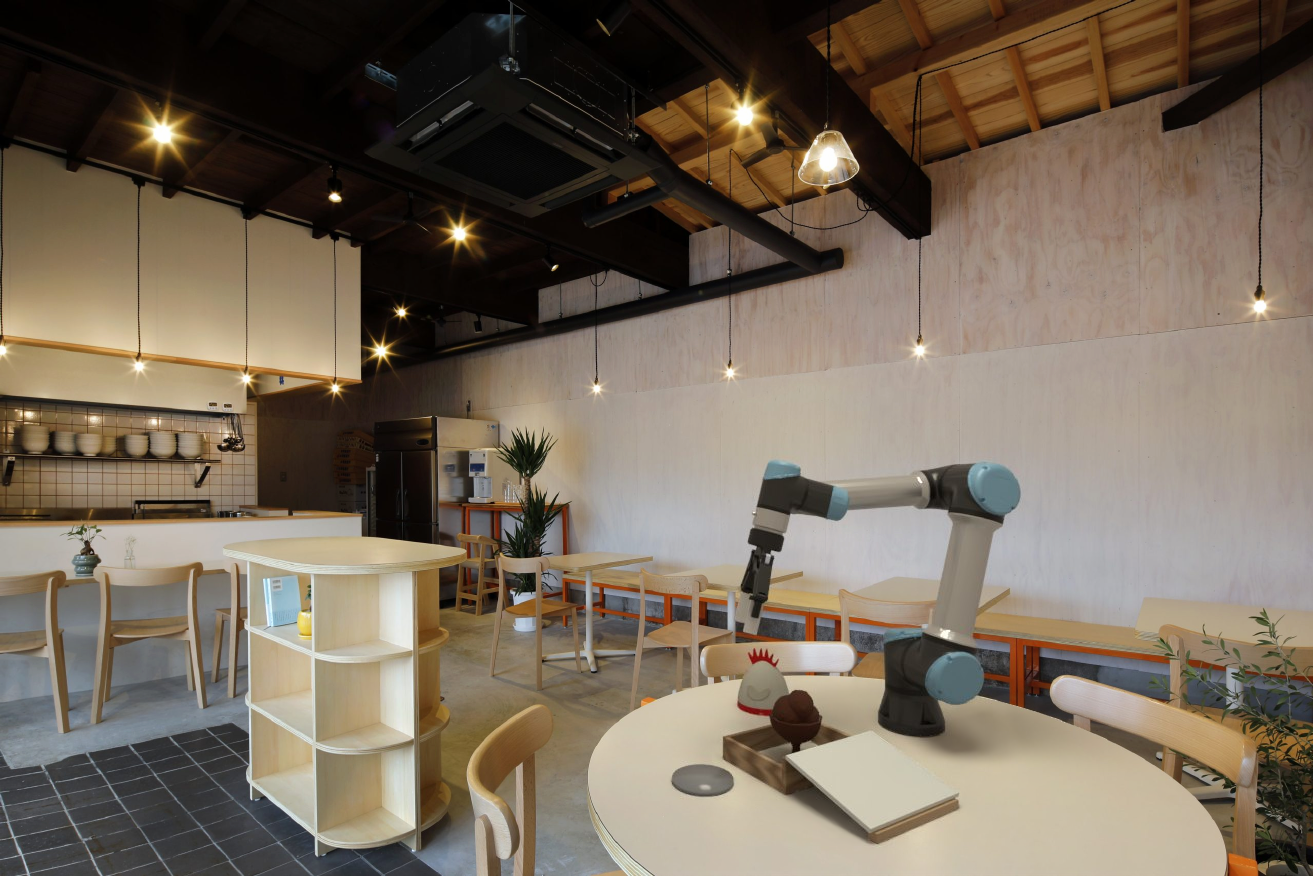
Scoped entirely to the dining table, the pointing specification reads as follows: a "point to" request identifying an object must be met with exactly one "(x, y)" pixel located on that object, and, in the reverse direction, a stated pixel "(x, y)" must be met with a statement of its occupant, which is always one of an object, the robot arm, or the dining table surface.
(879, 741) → the lid
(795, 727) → the ice cream bowl
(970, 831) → the dining table surface
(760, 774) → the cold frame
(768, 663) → the kitchen timer
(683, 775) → the coaster
